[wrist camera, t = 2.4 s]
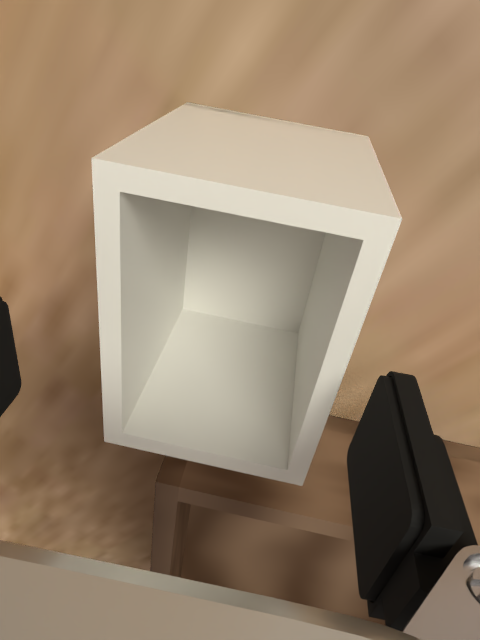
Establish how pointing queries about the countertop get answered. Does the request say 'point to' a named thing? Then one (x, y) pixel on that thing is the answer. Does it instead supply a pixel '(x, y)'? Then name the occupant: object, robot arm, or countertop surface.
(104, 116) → the countertop surface
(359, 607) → the big crate
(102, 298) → the box
